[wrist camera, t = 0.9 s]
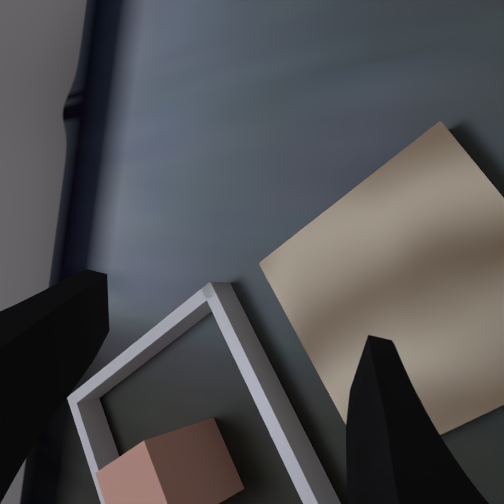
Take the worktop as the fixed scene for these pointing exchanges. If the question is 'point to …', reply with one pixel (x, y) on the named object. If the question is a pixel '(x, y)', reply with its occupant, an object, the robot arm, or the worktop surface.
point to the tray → (252, 369)
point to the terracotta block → (173, 469)
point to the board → (406, 280)
